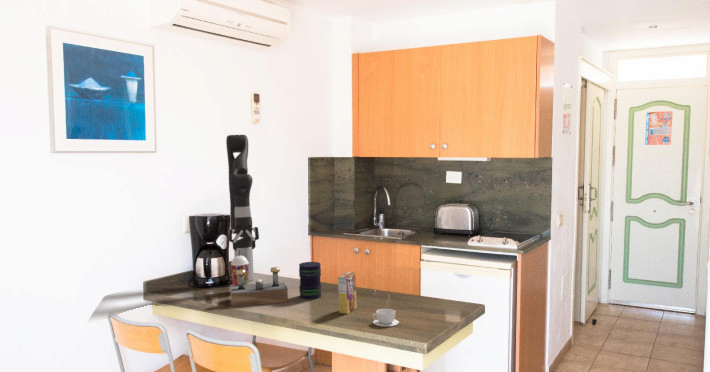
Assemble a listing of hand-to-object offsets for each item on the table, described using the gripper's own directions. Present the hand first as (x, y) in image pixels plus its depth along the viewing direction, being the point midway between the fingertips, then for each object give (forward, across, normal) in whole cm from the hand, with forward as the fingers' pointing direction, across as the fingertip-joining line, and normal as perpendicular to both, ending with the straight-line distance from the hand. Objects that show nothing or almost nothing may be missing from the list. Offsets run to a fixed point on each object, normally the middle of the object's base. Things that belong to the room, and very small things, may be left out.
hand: (244, 249), depth 274 cm
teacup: (+23, -37, +76) cm, 88 cm away
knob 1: (+15, +7, +22) cm, 28 cm away
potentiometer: (+14, 0, +27) cm, 30 cm away
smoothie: (+19, +3, +4) cm, 20 cm away
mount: (+20, -1, +23) cm, 30 cm away
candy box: (+22, -30, +55) cm, 66 cm away
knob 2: (+15, -8, +24) cm, 30 cm away
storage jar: (+21, -23, +28) cm, 41 cm away
